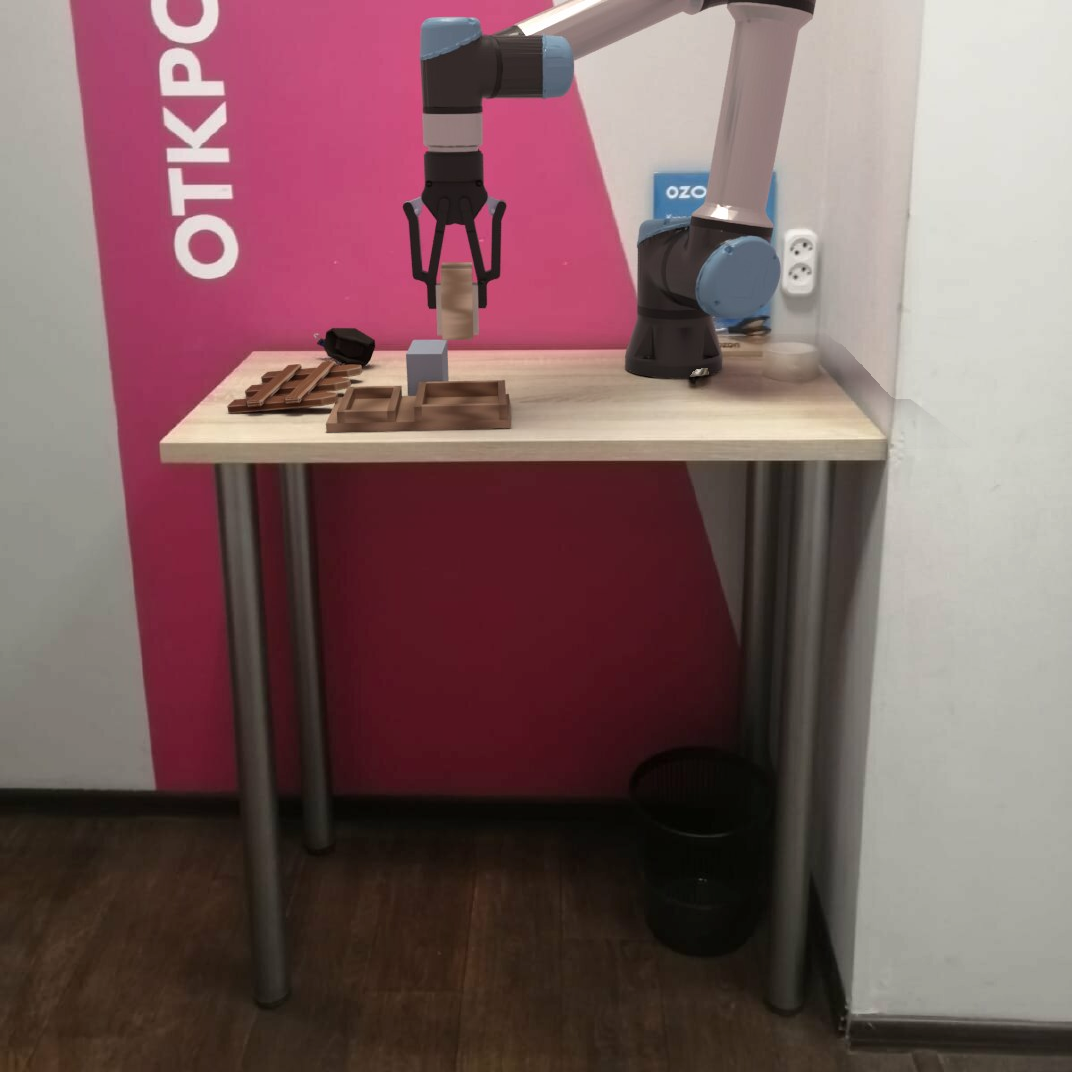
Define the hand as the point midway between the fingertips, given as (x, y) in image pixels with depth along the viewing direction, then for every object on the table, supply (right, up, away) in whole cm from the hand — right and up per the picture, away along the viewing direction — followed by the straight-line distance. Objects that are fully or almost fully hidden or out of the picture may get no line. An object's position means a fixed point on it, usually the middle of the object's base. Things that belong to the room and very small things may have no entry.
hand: (458, 332), depth 168 cm
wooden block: (0, 0, 0) cm, 0 cm away
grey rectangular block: (-5, -6, +16) cm, 18 cm away
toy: (-20, +1, +37) cm, 42 cm away
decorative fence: (-24, -6, +16) cm, 29 cm away
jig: (-5, -11, +4) cm, 13 cm away
